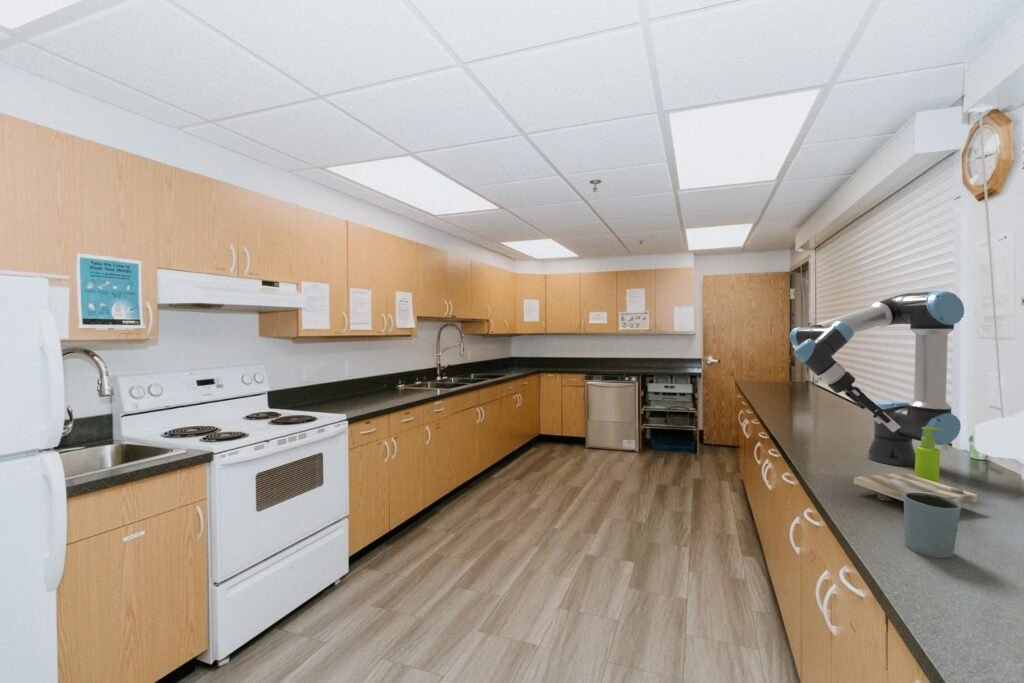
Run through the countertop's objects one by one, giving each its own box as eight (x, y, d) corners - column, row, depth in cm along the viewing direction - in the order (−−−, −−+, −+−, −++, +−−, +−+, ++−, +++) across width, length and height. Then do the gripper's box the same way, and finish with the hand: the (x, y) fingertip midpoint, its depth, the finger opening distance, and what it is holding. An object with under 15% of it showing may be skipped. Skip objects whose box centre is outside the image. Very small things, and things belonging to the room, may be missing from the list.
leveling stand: (904, 488, 153) (905, 471, 153) (976, 512, 133) (977, 492, 133) (853, 492, 149) (853, 475, 148) (920, 518, 129) (920, 497, 129)
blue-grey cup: (901, 536, 118) (903, 488, 118) (957, 548, 112) (959, 498, 111) (902, 551, 110) (903, 500, 110) (961, 565, 104) (963, 511, 103)
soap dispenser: (947, 492, 149) (949, 429, 148) (921, 491, 150) (924, 428, 149) (934, 486, 155) (936, 425, 154) (910, 485, 156) (912, 424, 155)
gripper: (819, 381, 174) (867, 425, 168) (835, 389, 151) (892, 440, 146) (837, 367, 172) (886, 411, 166) (856, 373, 149) (914, 425, 143)
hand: (889, 425), depth 156 cm, fingers open, 13 cm apart
